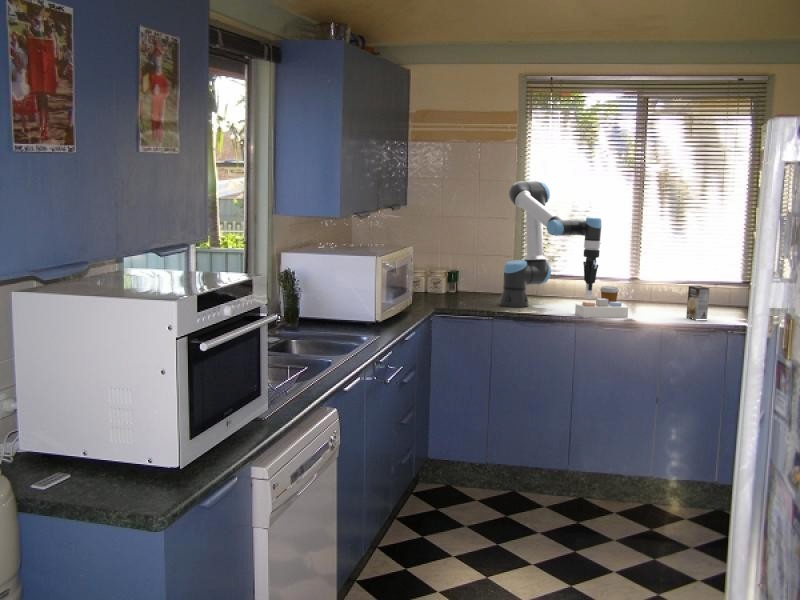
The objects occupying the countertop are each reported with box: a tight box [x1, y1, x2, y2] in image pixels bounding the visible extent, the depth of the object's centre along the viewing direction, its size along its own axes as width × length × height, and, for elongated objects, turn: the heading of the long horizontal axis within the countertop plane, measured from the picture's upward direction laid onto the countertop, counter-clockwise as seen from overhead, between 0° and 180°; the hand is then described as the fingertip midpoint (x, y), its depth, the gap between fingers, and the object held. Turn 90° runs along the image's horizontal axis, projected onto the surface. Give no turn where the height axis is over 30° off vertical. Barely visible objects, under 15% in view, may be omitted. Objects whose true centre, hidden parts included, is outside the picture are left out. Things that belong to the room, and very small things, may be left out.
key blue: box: [609, 301, 622, 306], centre depth 454 cm, size 5×5×6 cm
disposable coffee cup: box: [599, 285, 620, 304], centre depth 470 cm, size 10×10×12 cm
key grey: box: [595, 297, 608, 307], centre depth 452 cm, size 5×5×6 cm
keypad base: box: [574, 303, 629, 319], centre depth 453 cm, size 11×23×5 cm, turn 102°
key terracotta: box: [581, 301, 596, 307], centre depth 451 cm, size 5×5×6 cm
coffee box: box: [685, 285, 711, 320], centre depth 449 cm, size 9×6×16 cm
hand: (588, 296), depth 450 cm, fingers closed
